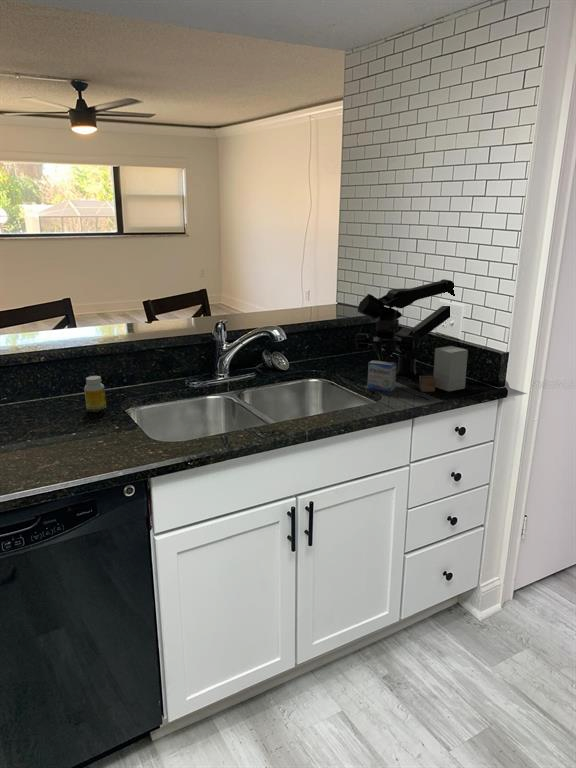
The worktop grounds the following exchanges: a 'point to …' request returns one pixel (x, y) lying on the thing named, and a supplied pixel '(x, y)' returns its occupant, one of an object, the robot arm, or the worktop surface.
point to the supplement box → (450, 368)
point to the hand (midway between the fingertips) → (382, 364)
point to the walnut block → (427, 383)
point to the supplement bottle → (94, 393)
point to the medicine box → (381, 375)
